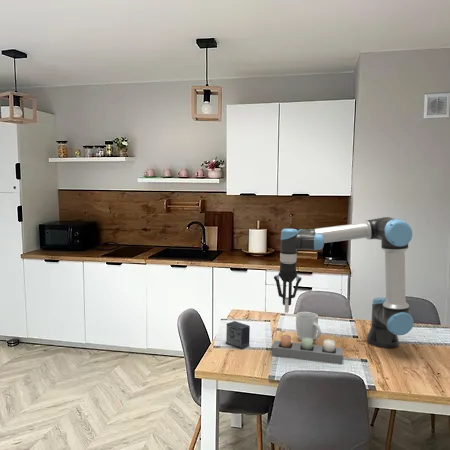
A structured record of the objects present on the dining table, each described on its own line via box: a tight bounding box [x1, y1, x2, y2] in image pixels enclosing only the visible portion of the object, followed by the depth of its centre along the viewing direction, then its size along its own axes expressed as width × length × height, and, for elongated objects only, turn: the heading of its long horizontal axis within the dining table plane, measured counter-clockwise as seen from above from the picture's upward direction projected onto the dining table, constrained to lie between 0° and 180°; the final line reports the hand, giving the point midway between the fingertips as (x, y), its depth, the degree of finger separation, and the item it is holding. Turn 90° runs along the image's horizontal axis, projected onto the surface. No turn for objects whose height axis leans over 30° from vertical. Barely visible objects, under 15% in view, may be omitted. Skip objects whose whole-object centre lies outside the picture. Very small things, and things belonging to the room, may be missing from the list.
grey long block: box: [270, 340, 343, 365], centre depth 202 cm, size 32×9×4 cm, turn 75°
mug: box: [295, 311, 322, 342], centre depth 221 cm, size 15×11×13 cm
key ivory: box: [323, 338, 336, 352], centre depth 199 cm, size 5×5×4 cm
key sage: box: [301, 337, 314, 349], centre depth 202 cm, size 5×5×4 cm
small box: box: [225, 320, 251, 350], centre depth 214 cm, size 11×6×10 cm, turn 47°
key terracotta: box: [279, 334, 292, 347], centre depth 204 cm, size 5×5×4 cm
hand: (286, 311), depth 203 cm, fingers closed
